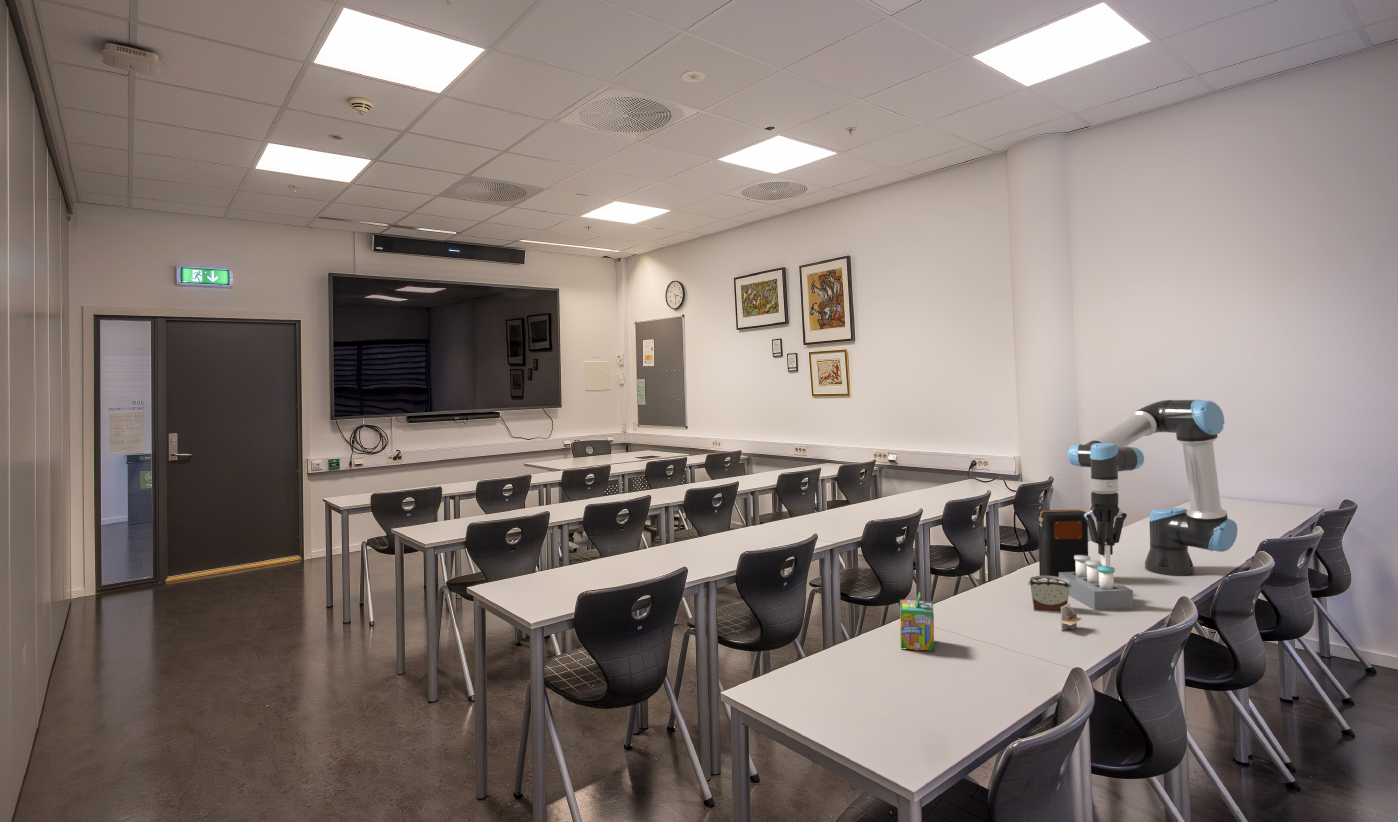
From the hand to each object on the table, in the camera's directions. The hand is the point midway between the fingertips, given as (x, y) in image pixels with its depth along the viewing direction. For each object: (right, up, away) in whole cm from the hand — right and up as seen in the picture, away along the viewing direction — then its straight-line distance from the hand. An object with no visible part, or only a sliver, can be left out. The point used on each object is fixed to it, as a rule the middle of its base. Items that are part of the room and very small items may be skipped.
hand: (1105, 564), depth 220 cm
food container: (-18, -14, 0) cm, 23 cm away
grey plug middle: (+1, -9, +7) cm, 11 cm away
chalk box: (-69, -17, -26) cm, 75 cm away
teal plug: (0, -9, 0) cm, 9 cm away
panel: (+1, -13, +7) cm, 15 cm away
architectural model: (-22, -16, -18) cm, 32 cm away
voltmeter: (+3, -12, +30) cm, 33 cm away
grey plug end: (+1, -8, +14) cm, 17 cm away
